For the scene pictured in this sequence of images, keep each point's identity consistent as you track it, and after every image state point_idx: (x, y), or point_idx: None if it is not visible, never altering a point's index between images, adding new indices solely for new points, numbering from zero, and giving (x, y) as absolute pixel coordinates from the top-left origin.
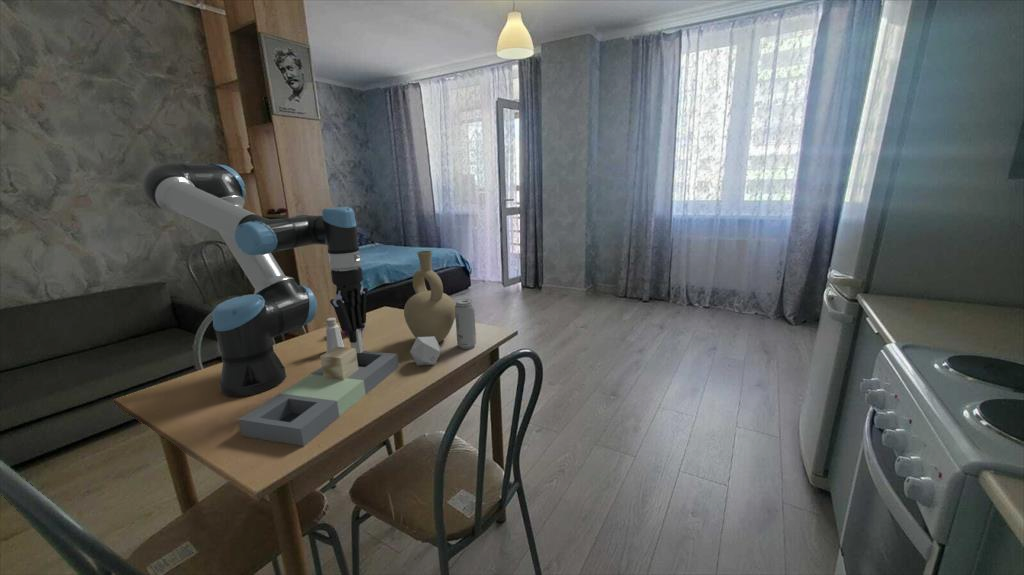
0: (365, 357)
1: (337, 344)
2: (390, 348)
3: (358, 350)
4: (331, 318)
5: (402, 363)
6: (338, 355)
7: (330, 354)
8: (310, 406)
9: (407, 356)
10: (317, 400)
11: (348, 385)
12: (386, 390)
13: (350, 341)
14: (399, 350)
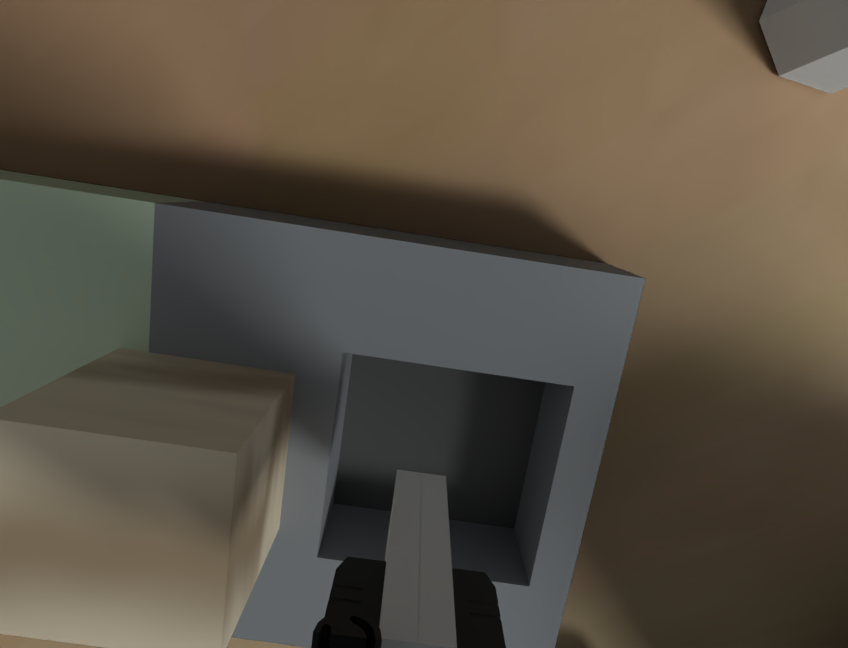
0: (553, 432)
1: (840, 47)
2: (835, 447)
3: (386, 547)
4: None
5: (576, 609)
6: (35, 587)
7: (41, 500)
8: None
9: (682, 603)
10: None
11: None
12: (242, 641)
13: (338, 574)
14: (789, 521)
